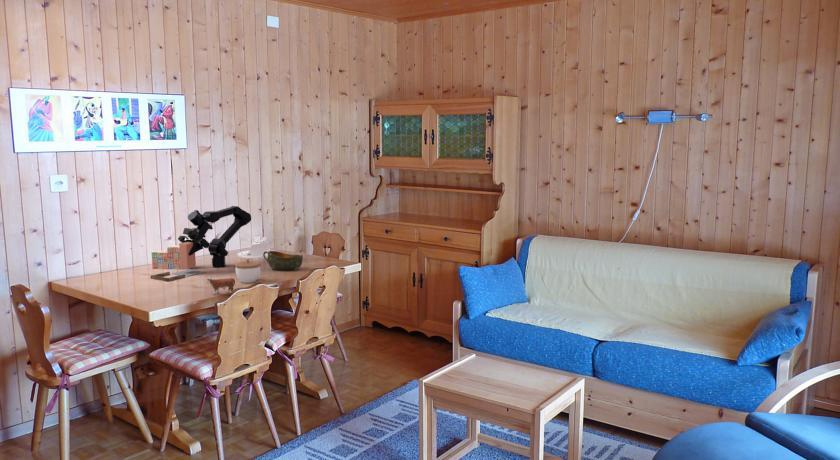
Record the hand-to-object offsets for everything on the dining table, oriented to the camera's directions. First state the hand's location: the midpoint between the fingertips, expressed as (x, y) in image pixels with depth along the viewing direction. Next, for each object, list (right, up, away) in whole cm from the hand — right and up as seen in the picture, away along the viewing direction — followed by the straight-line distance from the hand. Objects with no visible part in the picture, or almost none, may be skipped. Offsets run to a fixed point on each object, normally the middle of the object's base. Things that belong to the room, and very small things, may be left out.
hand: (185, 254), depth 352 cm
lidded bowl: (+37, -13, -15) cm, 42 cm away
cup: (+49, -9, +13) cm, 52 cm away
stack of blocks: (-13, -8, +17) cm, 23 cm away
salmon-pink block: (+1, -7, +2) cm, 7 cm away
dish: (+25, -3, +58) cm, 63 cm away
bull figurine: (+31, -17, -41) cm, 54 cm away
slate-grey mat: (+1, -10, +3) cm, 10 cm away
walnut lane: (-6, -12, -9) cm, 16 cm away
